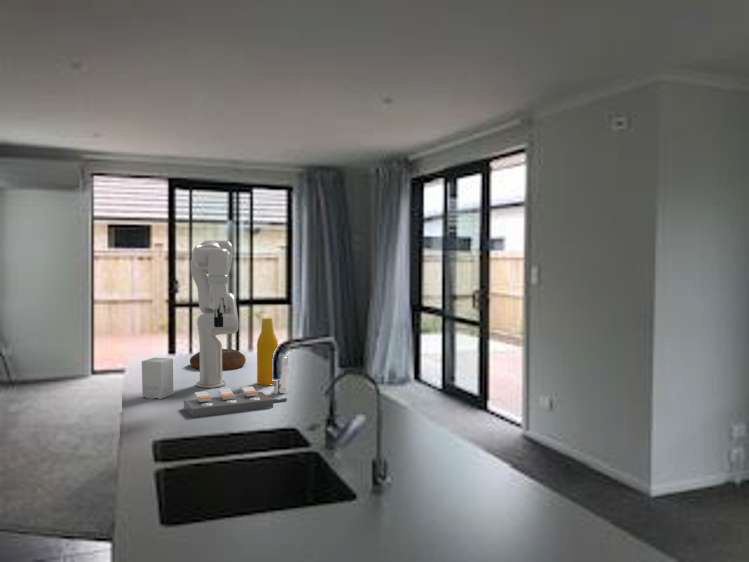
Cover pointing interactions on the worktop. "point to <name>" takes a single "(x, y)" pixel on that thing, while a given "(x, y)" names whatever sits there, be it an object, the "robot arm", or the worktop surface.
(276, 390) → the beer glass
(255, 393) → the outlet rocker
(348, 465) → the worktop surface
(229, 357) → the bread
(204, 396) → the rocker outlet
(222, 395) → the outlet rocker
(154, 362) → the supplement box
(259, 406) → the power strip
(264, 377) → the beer bottle
